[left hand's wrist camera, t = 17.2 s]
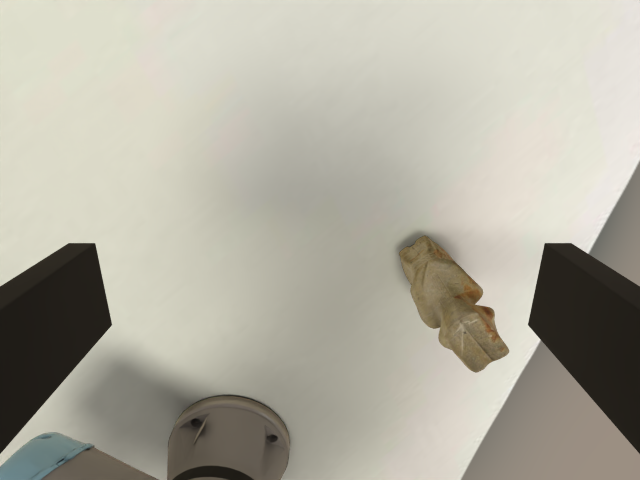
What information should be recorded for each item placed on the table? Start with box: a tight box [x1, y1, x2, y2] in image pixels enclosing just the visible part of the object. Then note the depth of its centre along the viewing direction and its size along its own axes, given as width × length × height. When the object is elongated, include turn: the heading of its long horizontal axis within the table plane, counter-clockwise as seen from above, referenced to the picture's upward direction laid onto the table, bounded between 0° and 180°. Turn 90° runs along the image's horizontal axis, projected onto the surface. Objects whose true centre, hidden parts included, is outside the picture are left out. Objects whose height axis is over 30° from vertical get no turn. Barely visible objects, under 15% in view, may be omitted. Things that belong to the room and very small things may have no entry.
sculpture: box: [399, 236, 509, 372], centre depth 38 cm, size 6×7×15 cm
